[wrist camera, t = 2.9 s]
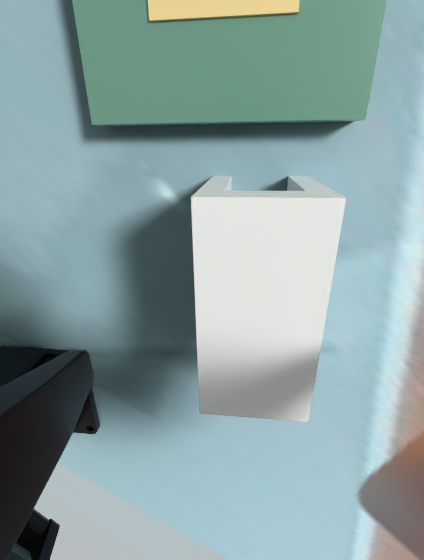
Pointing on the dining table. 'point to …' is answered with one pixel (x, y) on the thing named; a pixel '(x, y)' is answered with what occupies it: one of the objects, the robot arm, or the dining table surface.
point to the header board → (227, 60)
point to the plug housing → (262, 294)
